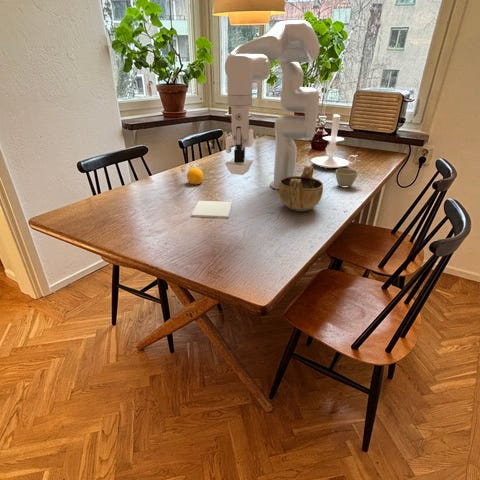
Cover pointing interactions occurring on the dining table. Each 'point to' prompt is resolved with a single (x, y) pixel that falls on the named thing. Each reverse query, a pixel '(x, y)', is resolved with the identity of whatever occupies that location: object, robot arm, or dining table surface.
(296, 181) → the tan round basket
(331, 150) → the candlestick
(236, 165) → the figurine
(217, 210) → the cream board
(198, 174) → the apple
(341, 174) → the flower pot
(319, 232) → the dining table surface
